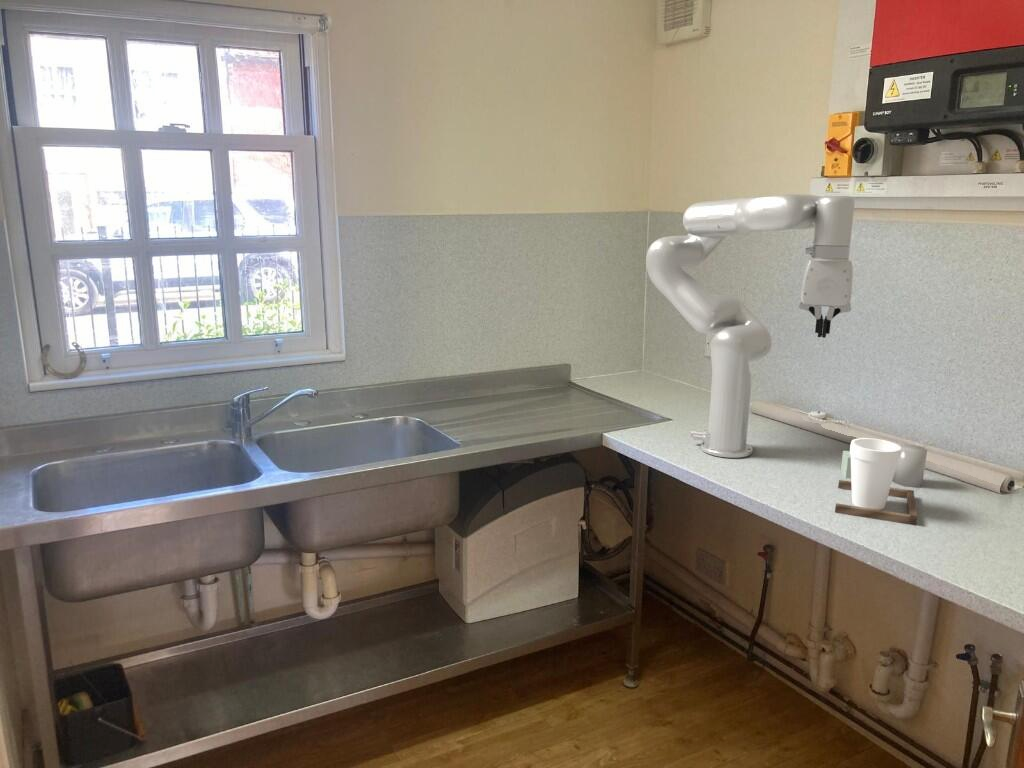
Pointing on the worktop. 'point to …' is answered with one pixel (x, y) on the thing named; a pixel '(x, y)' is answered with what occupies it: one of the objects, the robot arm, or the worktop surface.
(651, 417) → the worktop surface
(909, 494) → the dark wooden bay
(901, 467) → the grey ceramic jar
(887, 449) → the foam cup
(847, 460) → the sage painted block
